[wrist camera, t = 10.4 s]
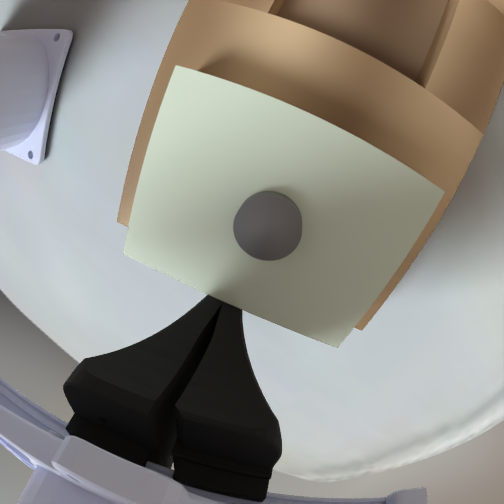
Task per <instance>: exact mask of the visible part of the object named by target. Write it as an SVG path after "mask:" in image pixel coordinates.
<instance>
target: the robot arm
mask: <svg viewBox="0 0 504 504" xmlns="http://www.w3.org/2000/svg"><path fill="white" fill-rule="evenodd" d="M59 36H60V38H59ZM72 38H73V32H72V31H71V30H67V29H23V30H8V31H0V151H2V150H5V151H7V152H9V153H11V154H13V155H16V156H18V157H20V158H22V159H24V160H26V161H28V162H30V163H32V164H34V165H39V164H41V163H42V162H43V161H44V156H45V149H46V142H47V136H48V130H49V124H50V119H51V114H52V109H53V104H54V100H55V96H56V92H57V88H58V84H59V80H60V76H61V73H62V69H63V66H64V62H65V59H66V56H67V53H68V50H69V47H70V44H71V41H72ZM58 39H59V40H58ZM63 390H64V393H65V396H66V398H67V400H68V402H69V404H70V406H71V407H72V409H73V411H74V413H75V414H74V415H73V417H72V419H71V420H70V422H69V423H67V422H65V421H63V420H61V419H60V418H58V417H57V416H55V415H53V414H52V413H50V412H48V411H47V410H45V409H44V408H42V407H41V406H39V405H37V404H36V403H34V402H33V401H31V400H30V399H29V398H27V397H26V396H24V395H23V394H21V393H20V392H19V391H17V390H16V389H15V388H13V387H12V386H11V385H9V384H8V383H7V382H5V381H4V380H3V379H1V378H0V443H1V444H2V445H3V446H4V447H5V448H6V449H8V450H9V451H10V452H11V453H12V454H14V455H15V456H16V457H17V458H19V459H20V460H21V461H22V462H24V463H25V464H26V465H28V466H29V467H30V468H32V469H33V470H34V472H33V474H32V476H31V478H30V480H29V481H28V483H27V485H26V487H25V489H24V490H23V492H22V494H21V496H20V498H19V500H18V502H17V504H428V501H427V491H426V488H424V487H422V488H414V489H404V490H399V491H396V492H393V493H391V494H390V495H388V496H387V497H383V498H360V499H359V498H354V499H346V498H345V499H344V498H343V499H342V498H341V499H340V498H317V497H316V498H315V497H303V496H293V495H284V494H276V493H269V492H267V489H268V484H269V479H270V478H271V475H272V469H273V467H274V465H275V464H276V463H277V461H278V460H279V459H280V457H281V454H282V439H281V432H280V427H279V422H278V420H277V418H276V416H275V415H274V413H273V412H272V410H271V408H270V407H269V405H268V403H267V401H266V399H265V397H264V395H263V393H262V391H261V389H260V387H259V384H258V382H257V380H256V377H255V375H254V372H253V369H252V366H251V363H250V360H249V356H248V353H247V348H246V343H245V338H244V331H243V322H242V309H240V308H237V307H235V306H233V305H230V304H228V303H226V302H224V301H221V300H219V299H217V298H215V297H212V296H210V295H207V296H206V297H205V298H204V299H202V300H201V301H200V302H199V303H198V304H197V305H196V306H194V307H193V308H192V309H191V310H190V311H188V312H187V313H186V314H185V315H183V316H182V317H181V318H179V319H178V320H176V321H175V322H173V323H172V324H171V325H169V326H168V327H166V328H164V329H163V330H161V331H159V332H158V333H156V334H154V335H152V336H150V337H148V338H146V339H144V340H142V341H140V342H138V343H136V344H133V345H131V346H128V347H126V348H123V349H120V350H117V351H114V352H111V353H107V354H103V355H99V356H95V357H90V358H85V359H84V360H83V361H82V362H81V363H80V364H79V365H78V366H77V367H76V369H75V370H74V371H73V372H72V374H71V375H70V377H69V378H68V379H67V381H66V382H65V383H64V386H63ZM172 463H174V470H172V469H171V467H172Z"/></svg>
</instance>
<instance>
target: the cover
mask: <svg viewBox="0 0 504 504" xmlns="http://www.w3.org/2000/svg"><path fill="white" fill-rule="evenodd" d="M444 193H445V192H444V191H443V190H442V189H440V188H439V187H437V186H436V185H435V184H433V183H432V182H430V181H429V180H427V179H426V178H424V177H423V176H421V175H420V174H418V173H417V172H415V171H414V170H412V169H411V168H409V167H407V166H406V165H404V164H403V163H401V162H400V161H398V160H396V159H395V158H393V157H391V156H390V155H388V154H386V153H385V152H383V151H381V150H380V149H378V148H376V147H374V146H373V145H371V144H369V143H367V142H365V141H364V140H362V139H360V138H358V137H356V136H354V135H353V134H351V133H349V132H347V131H345V130H343V129H341V128H339V127H337V126H335V125H333V124H331V123H329V122H327V121H325V120H323V119H321V118H319V117H317V116H314V115H312V114H310V113H308V112H306V111H304V110H301V109H299V108H297V107H295V106H292V105H290V104H288V103H285V102H283V101H281V100H278V99H276V98H273V97H271V96H268V95H266V94H263V93H261V92H258V91H255V90H253V89H250V88H247V87H245V86H242V85H239V84H236V83H233V82H230V81H227V80H224V79H221V78H218V77H215V76H212V75H209V74H206V73H202V72H199V71H195V70H192V69H188V68H185V67H181V66H177V65H176V66H175V68H174V71H173V74H172V76H171V79H170V81H169V84H168V87H167V90H166V92H165V95H164V98H163V101H162V104H161V107H160V109H159V112H158V115H157V119H156V122H155V125H154V128H153V131H152V134H151V138H150V141H149V144H148V148H147V151H146V155H145V158H144V162H143V166H142V169H141V173H140V177H139V181H138V185H137V189H136V193H135V198H134V202H133V206H132V211H131V215H130V220H129V225H128V230H127V235H126V240H125V246H124V251H123V254H125V255H127V256H129V257H131V258H133V259H135V260H137V261H139V262H141V263H143V264H145V265H147V266H149V267H151V268H153V269H155V270H157V271H159V272H161V273H163V274H165V275H167V276H169V277H171V278H174V279H176V280H178V281H180V282H182V283H184V284H186V285H188V286H191V287H193V288H195V289H197V290H199V291H201V292H204V293H206V294H208V295H210V296H212V297H215V298H217V299H219V300H221V301H224V302H226V303H228V304H230V305H233V306H235V307H237V308H240V309H242V310H244V311H247V312H249V313H251V314H254V315H256V316H258V317H261V318H263V319H265V320H268V321H270V322H273V323H275V324H277V325H280V326H282V327H285V328H287V329H290V330H292V331H295V332H297V333H300V334H302V335H305V336H307V337H310V338H312V339H315V340H317V341H320V342H323V343H325V344H328V345H331V346H333V347H336V348H338V347H339V345H340V344H341V343H342V342H343V341H344V339H345V338H346V337H347V336H348V335H349V333H350V332H351V331H352V330H353V328H354V327H355V326H356V325H357V323H358V322H359V321H360V320H361V318H362V317H363V316H364V314H365V313H366V312H367V311H368V309H369V308H370V307H371V305H372V304H373V303H374V301H375V300H376V299H377V297H378V296H379V295H380V293H381V292H382V290H383V289H384V288H385V286H386V285H387V283H388V282H389V281H390V279H391V278H392V276H393V275H394V273H395V272H396V271H397V269H398V268H399V266H400V265H401V263H402V262H403V260H404V259H405V257H406V256H407V254H408V253H409V251H410V250H411V248H412V247H413V245H414V243H415V242H416V240H417V239H418V237H419V235H420V234H421V232H422V231H423V229H424V227H425V226H426V224H427V222H428V221H429V219H430V217H431V216H432V214H433V212H434V211H435V209H436V207H437V205H438V204H439V202H440V200H441V198H442V196H443V195H444Z"/></svg>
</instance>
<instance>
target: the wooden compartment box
mask: <svg viewBox="0 0 504 504" xmlns="http://www.w3.org/2000/svg"><path fill="white" fill-rule="evenodd" d="M176 65H177V66H181V67H185V68H188V69H192V70H195V71H199V72H202V73H206V74H209V75H212V76H215V77H218V78H221V79H224V80H227V81H230V82H233V83H236V84H239V85H242V86H245V87H247V88H250V89H253V90H255V91H258V92H261V93H263V94H266V95H268V96H271V97H273V98H276V99H278V100H281V101H283V102H285V103H288V104H290V105H292V106H295V107H297V108H299V109H301V110H304V111H306V112H308V113H310V114H312V115H314V116H317V117H319V118H321V119H323V120H325V121H327V122H329V123H331V124H333V125H335V126H337V127H339V128H341V129H343V130H345V131H347V132H349V133H351V134H353V135H354V136H356V137H358V138H360V139H362V140H364V141H365V142H367V143H369V144H371V145H373V146H374V147H376V148H378V149H380V150H381V151H383V152H385V153H386V154H388V155H390V156H391V157H393V158H395V159H396V160H398V161H400V162H401V163H403V164H404V165H406V166H407V167H409V168H411V169H412V170H414V171H415V172H417V173H418V174H420V175H421V176H423V177H424V178H426V179H427V180H429V181H430V182H432V183H433V184H435V185H436V186H437V187H439V188H440V189H442V190H443V191H444V192H445V193H444V195H443V196H442V198H441V200H440V202H439V204H438V205H437V207H436V209H435V211H434V212H433V214H432V216H431V217H430V219H429V221H428V222H427V224H426V226H425V227H424V229H423V231H422V232H421V234H420V235H419V237H418V239H417V240H416V242H415V243H414V245H413V247H412V248H411V250H410V251H409V253H408V254H407V256H406V257H405V259H404V260H403V262H402V263H401V265H400V266H399V268H398V269H397V271H396V272H395V273H394V275H393V276H392V278H391V279H390V281H389V282H388V283H387V285H386V286H385V288H384V289H383V290H382V292H381V293H380V295H379V296H378V297H377V299H376V300H375V301H374V303H373V304H372V305H371V307H370V308H369V309H368V311H367V312H366V313H365V314H364V316H363V317H362V318H361V320H360V321H359V322H358V323H357V325H356V326H355V327H354V328H357V329H359V330H363V329H364V327H365V326H366V325H367V324H368V322H369V321H370V320H371V319H372V317H373V316H374V315H375V314H376V312H377V311H378V310H379V308H380V307H381V306H382V304H383V303H384V302H385V301H386V299H387V298H388V297H389V295H390V294H391V292H392V291H393V290H394V288H395V287H396V286H397V284H398V283H399V281H400V280H401V279H402V277H403V276H404V274H405V273H406V272H407V270H408V269H409V267H410V266H411V264H412V263H413V261H414V260H415V258H416V257H417V255H418V254H419V252H420V251H421V249H422V248H423V246H424V245H425V243H426V241H427V240H428V238H429V237H430V235H431V233H432V232H433V230H434V229H435V227H436V225H437V224H438V222H439V220H440V219H441V217H442V215H443V213H444V212H445V210H446V208H447V207H448V205H449V203H450V201H451V199H452V198H453V196H454V194H455V192H456V190H457V188H458V187H459V185H460V183H461V181H462V179H463V177H464V175H465V173H466V171H467V169H468V167H469V165H470V163H471V161H472V159H473V157H474V155H475V152H476V150H477V148H478V146H479V144H480V141H481V139H482V137H483V135H484V132H485V130H486V128H487V125H488V123H489V120H490V118H491V115H492V113H493V110H494V108H495V105H496V102H497V100H498V97H499V94H500V91H501V88H502V85H503V82H504V0H189V1H188V3H187V5H186V7H185V9H184V11H183V13H182V16H181V18H180V20H179V22H178V24H177V26H176V29H175V31H174V33H173V35H172V38H171V40H170V42H169V45H168V47H167V50H166V52H165V55H164V57H163V60H162V62H161V65H160V67H159V70H158V73H157V75H156V78H155V81H154V84H153V86H152V89H151V92H150V95H149V98H148V101H147V104H146V107H145V110H144V113H143V117H142V120H141V123H140V126H139V130H138V133H137V137H136V140H135V144H134V148H133V151H132V155H131V159H130V163H129V167H128V171H127V175H126V180H125V184H124V188H123V193H122V198H121V203H120V208H119V213H118V218H117V222H119V223H121V224H123V225H125V226H127V227H128V225H129V220H130V215H131V211H132V206H133V202H134V198H135V193H136V189H137V185H138V181H139V177H140V173H141V169H142V166H143V162H144V158H145V155H146V151H147V148H148V144H149V141H150V138H151V134H152V131H153V128H154V125H155V122H156V119H157V115H158V112H159V109H160V107H161V104H162V101H163V98H164V95H165V92H166V90H167V87H168V84H169V81H170V79H171V76H172V74H173V71H174V68H175V66H176Z"/></svg>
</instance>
